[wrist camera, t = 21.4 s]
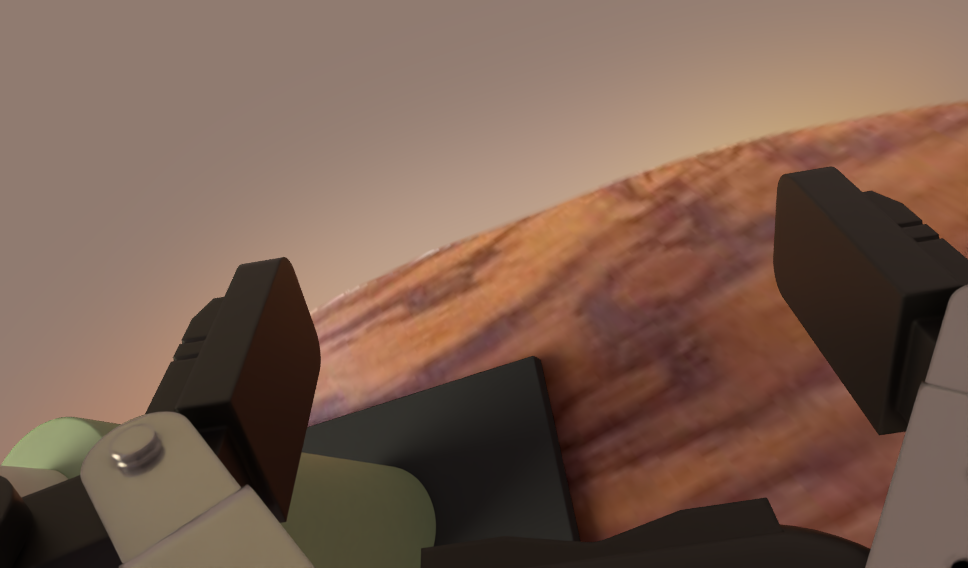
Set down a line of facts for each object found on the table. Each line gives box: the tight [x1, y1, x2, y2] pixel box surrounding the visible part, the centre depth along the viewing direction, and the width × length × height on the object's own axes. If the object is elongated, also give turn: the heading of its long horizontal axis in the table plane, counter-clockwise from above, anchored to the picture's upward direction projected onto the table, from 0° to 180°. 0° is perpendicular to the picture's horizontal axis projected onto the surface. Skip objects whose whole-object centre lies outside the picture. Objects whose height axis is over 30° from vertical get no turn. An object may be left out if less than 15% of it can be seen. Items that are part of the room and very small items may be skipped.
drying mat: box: [302, 356, 580, 546], centre depth 31 cm, size 16×10×1 cm, turn 101°
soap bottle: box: [0, 417, 436, 568], centre depth 23 cm, size 5×5×17 cm
